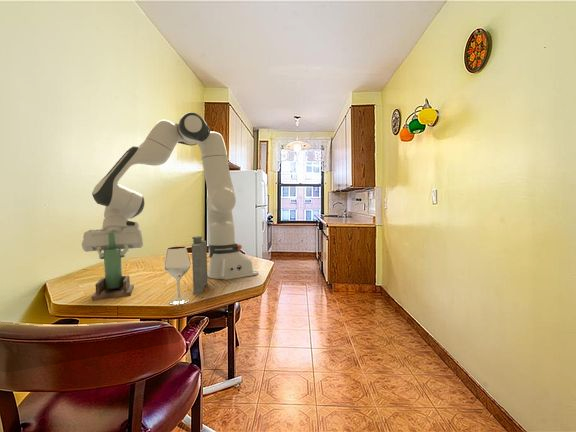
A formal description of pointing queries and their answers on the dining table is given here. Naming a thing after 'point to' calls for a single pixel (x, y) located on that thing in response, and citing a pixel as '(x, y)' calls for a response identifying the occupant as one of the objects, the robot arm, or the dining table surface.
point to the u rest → (115, 292)
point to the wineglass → (177, 268)
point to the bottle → (112, 264)
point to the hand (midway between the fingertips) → (112, 257)
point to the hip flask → (199, 264)
